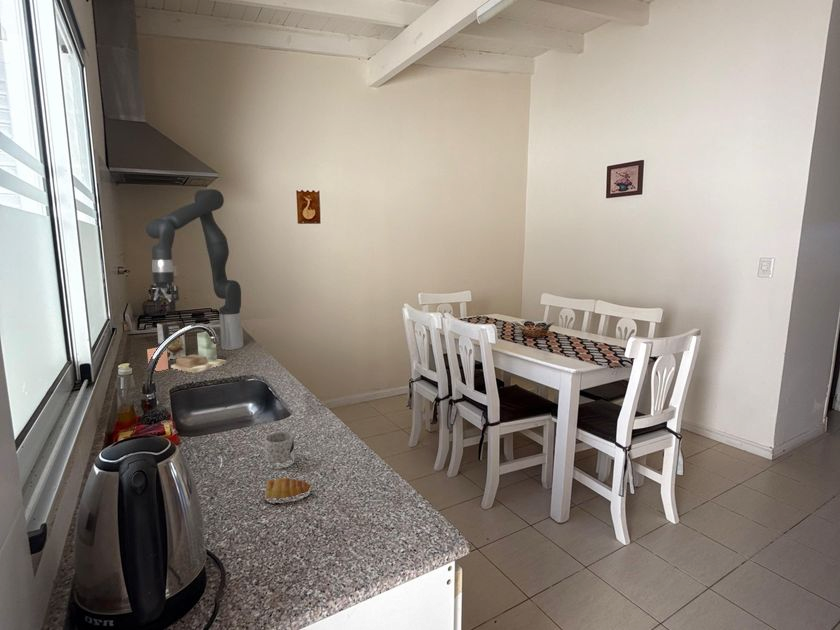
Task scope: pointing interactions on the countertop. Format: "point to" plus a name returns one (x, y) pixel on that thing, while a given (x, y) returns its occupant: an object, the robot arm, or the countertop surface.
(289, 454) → the mug
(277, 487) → the pastry
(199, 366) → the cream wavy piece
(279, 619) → the countertop surface
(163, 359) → the brick block
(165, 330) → the coffee box
